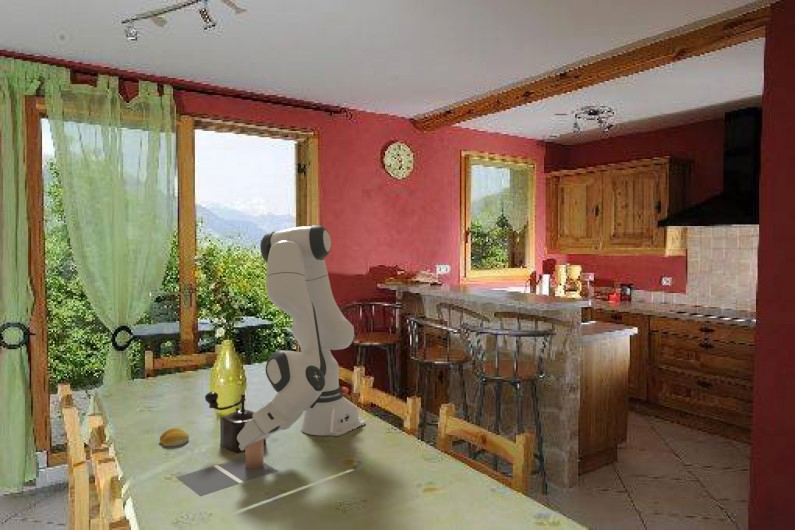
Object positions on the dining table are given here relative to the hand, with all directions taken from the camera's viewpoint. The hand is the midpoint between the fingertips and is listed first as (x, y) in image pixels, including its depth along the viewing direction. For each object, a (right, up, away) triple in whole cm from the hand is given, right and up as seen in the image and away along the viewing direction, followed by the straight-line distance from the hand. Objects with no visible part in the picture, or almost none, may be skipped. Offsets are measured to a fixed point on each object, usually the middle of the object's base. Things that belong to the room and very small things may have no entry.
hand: (252, 442), depth 153 cm
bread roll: (-30, -7, +20) cm, 37 cm away
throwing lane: (-5, -7, -5) cm, 11 cm away
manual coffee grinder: (-9, -7, +14) cm, 19 cm away
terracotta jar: (0, -7, 0) cm, 7 cm away
